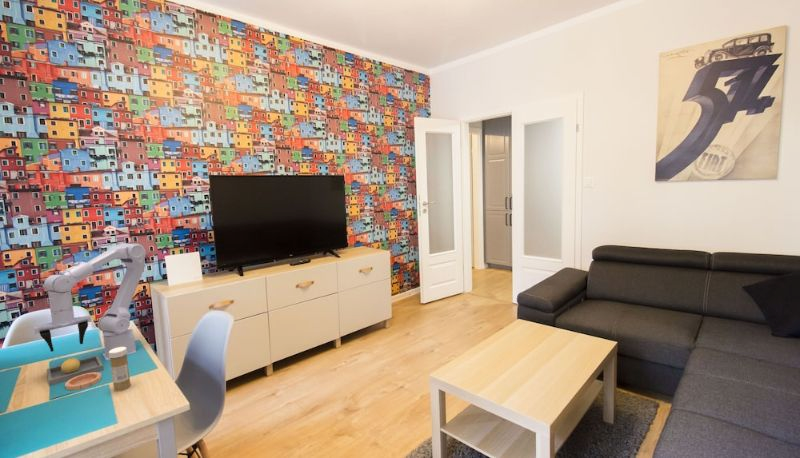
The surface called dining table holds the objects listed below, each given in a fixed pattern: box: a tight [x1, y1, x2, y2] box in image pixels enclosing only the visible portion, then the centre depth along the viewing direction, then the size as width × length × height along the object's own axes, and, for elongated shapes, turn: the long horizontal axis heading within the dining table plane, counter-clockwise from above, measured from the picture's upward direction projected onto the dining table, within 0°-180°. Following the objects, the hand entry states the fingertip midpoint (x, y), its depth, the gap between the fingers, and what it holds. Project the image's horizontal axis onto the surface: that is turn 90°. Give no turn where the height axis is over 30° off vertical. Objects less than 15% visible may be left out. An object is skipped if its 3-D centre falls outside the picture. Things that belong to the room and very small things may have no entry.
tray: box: [46, 355, 105, 387], centre depth 130 cm, size 14×12×2 cm
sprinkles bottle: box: [109, 347, 132, 393], centre depth 118 cm, size 5×5×13 cm
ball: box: [60, 357, 80, 373], centre depth 129 cm, size 5×5×5 cm
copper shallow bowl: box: [64, 372, 103, 391], centre depth 123 cm, size 9×9×2 cm
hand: (67, 346), depth 129 cm, fingers open, 7 cm apart
